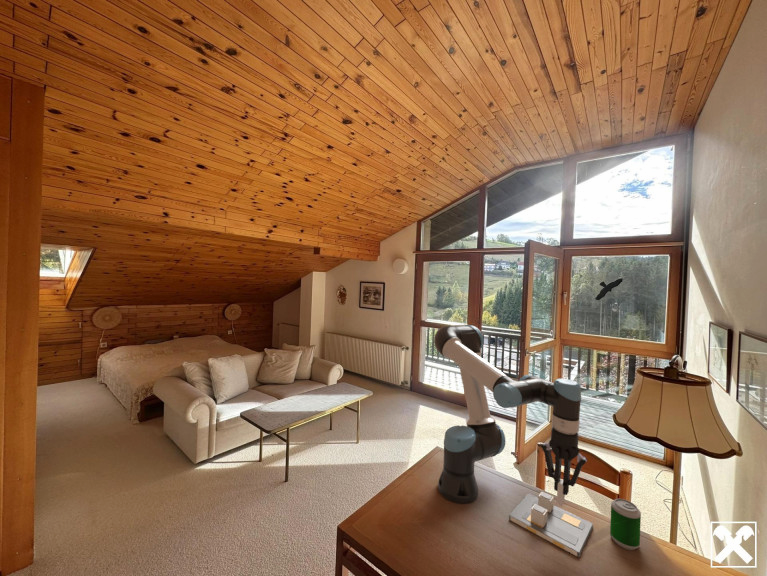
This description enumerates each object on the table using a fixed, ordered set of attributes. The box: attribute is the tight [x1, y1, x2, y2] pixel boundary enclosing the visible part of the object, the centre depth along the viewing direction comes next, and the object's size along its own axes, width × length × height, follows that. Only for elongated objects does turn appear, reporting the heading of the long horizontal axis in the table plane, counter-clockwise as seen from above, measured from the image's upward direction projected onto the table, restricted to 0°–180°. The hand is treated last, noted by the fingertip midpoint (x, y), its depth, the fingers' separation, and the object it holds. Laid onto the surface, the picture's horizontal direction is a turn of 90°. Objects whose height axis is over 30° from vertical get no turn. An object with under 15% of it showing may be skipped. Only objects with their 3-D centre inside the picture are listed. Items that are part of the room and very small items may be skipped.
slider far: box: [537, 491, 555, 512], centre depth 114 cm, size 4×4×4 cm
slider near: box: [531, 504, 548, 527], centre depth 107 cm, size 4×4×4 cm
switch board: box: [508, 492, 594, 558], centre depth 108 cm, size 21×17×2 cm
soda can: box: [609, 498, 642, 551], centre depth 101 cm, size 8×8×12 cm
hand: (560, 502), depth 102 cm, fingers closed
